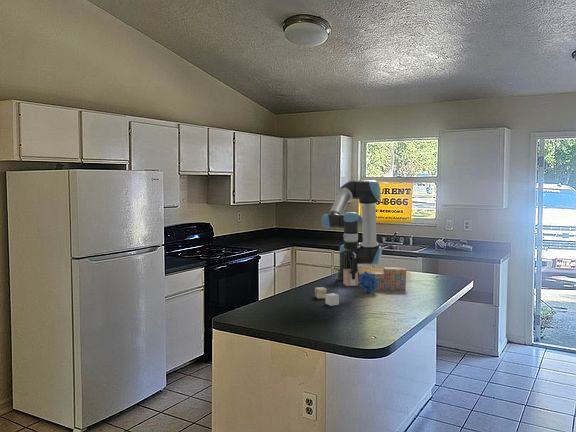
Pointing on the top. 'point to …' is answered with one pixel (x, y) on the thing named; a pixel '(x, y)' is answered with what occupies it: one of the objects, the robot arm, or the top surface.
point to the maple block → (320, 292)
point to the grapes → (368, 282)
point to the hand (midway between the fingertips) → (350, 283)
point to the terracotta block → (347, 277)
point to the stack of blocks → (391, 278)
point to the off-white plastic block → (332, 299)
